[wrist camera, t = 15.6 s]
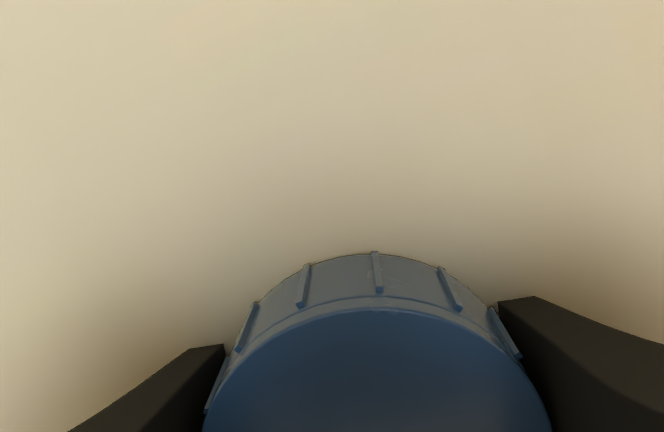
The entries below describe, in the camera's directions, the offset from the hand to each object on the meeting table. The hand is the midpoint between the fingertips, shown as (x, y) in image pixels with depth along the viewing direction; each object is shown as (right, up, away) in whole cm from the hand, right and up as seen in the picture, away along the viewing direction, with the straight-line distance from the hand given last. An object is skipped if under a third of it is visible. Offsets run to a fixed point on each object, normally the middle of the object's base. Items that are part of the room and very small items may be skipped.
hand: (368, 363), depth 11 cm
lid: (0, -1, -3) cm, 3 cm away
